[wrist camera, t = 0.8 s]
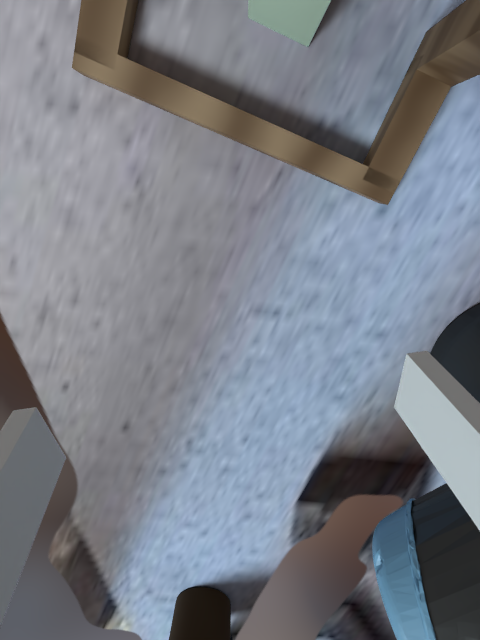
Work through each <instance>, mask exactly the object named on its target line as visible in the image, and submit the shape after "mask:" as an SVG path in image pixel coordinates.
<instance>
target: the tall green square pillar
mask: <svg viewBox="0 0 480 640" xmlns="http://www.w3.org/2000/svg"><path fill="white" fill-rule="evenodd" d="M330 2H331V0H248V18H249V19H251V20H253V21H255V22H257V23H260V24H262V25H264V26H266V27H268V28H270V29H272V30H274V31H276V32H278V33H280V34H282V35H284V36H286V37H288V38H290V39H292V40H294V41H296V42H298V43H300V44H302V45H305V46H307V47H308V46H309V44H310V42H311V40H312V38H313V36H314V34H315V32H316V30H317V28H318V26H319V24H320V22H321V20H322V18H323V16H324V14H325V12H326V10H327V8H328V6H329V4H330Z"/></svg>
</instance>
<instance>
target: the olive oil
mask: <svg viewBox="0 0 480 640" xmlns="http://www.w3.org/2000/svg"><path fill="white" fill-rule="evenodd" d="M230 619H231V604H230V600H229V598H228V597H227V596H226V595H225V594H224V593H223V592H221V591H219V590H216V589H213V588H208V587H195V588H190V589H187V590H185V591H183V592H182V593H181V594H180V595H179V596H178V597H177V600H176V604H175V610H174V615H173V620H172V626H171V631H170V637H169V640H232V637H231V636H232V635H231V636H230ZM230 637H231V638H230Z"/></svg>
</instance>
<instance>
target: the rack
mask: <svg viewBox="0 0 480 640" xmlns="http://www.w3.org/2000/svg"><path fill="white" fill-rule="evenodd" d="M137 6H138V0H81V7H80V14H79V22H78V29H77V36H76V43H75V50H74V57H73V64H72V68H73V69H75V70H76V71H78V72H79V73H81V74H83V75H84V76H86V77H89V78H91V79H93V80H96V81H98V82H100V83H103V84H105V85H107V86H110V87H112V88H114V89H116V90H119V91H121V92H123V93H126V94H128V95H130V96H133V97H135V98H137V99H140V100H142V101H144V102H147V103H149V104H151V105H153V106H156V107H158V108H160V109H163V110H165V111H167V112H170V113H172V114H174V115H177V116H179V117H181V118H184V119H186V120H188V121H190V122H193V123H195V124H197V125H200V126H202V127H204V128H207V129H209V130H211V131H214V132H216V133H218V134H220V135H223V136H225V137H227V138H230V139H232V140H234V141H237V142H239V143H241V144H244V145H246V146H248V147H251V148H253V149H255V150H257V151H260V152H262V153H264V154H267V155H269V156H271V157H274V158H276V159H278V160H281V161H283V162H285V163H287V164H290V165H292V166H294V167H297V168H299V169H301V170H304V171H306V172H308V173H311V174H313V175H315V176H318V177H320V178H322V179H324V180H327V181H329V182H331V183H334V184H336V185H338V186H341V187H343V188H345V189H348V190H350V191H352V192H355V193H357V194H359V195H361V196H364V197H366V198H368V199H371V200H373V201H375V202H378V203H381V204H386V205H388V203H389V202H390V200H391V198H392V196H393V194H394V192H395V190H396V189H397V187H398V185H399V183H400V181H401V179H402V177H403V175H404V174H405V172H406V170H407V168H408V166H409V164H410V162H411V161H412V159H413V157H414V155H415V153H416V151H417V149H418V148H419V146H420V144H421V142H422V140H423V138H424V136H425V134H426V133H427V131H428V129H429V127H430V125H431V123H432V121H433V120H434V118H435V116H436V114H437V112H438V110H439V108H440V107H441V105H442V103H443V101H444V99H445V97H446V95H447V93H448V92H449V90H450V88H451V87H452V86H454V85H456V84H458V83H461V82H463V81H465V80H468V79H470V78H472V77H475V76H477V75H479V74H480V0H466V1H465V2H464V3H462V4H461V5H460V6H459V7H457V8H456V9H455V10H453V11H452V12H451V13H450V14H448V15H447V16H446V17H445V18H443V19H442V20H441V21H440V22H438V23H437V24H436V25H435V26H433V27H432V28H431V29H430V30H428V31H427V32H426V34H425V36H424V38H423V40H422V42H421V44H420V46H419V48H418V50H417V52H416V54H415V57H414V59H413V61H412V63H411V65H410V67H409V69H408V71H407V73H406V75H405V77H404V79H403V81H402V83H401V85H400V88H399V90H398V92H397V94H396V96H395V98H394V100H393V102H392V104H391V106H390V108H389V110H388V112H387V114H386V117H385V119H384V121H383V123H382V125H381V127H380V129H379V131H378V133H377V135H376V137H375V139H374V141H373V143H372V145H371V148H370V150H369V152H368V154H367V156H366V158H365V160H364V162H363V164H361V163H359V162H357V161H354V160H352V159H350V158H348V157H345V156H343V155H341V154H339V153H337V152H334V151H332V150H330V149H328V148H325V147H323V146H321V145H319V144H316V143H314V142H312V141H310V140H307V139H305V138H303V137H301V136H299V135H296V134H294V133H292V132H290V131H287V130H285V129H283V128H281V127H278V126H276V125H274V124H272V123H269V122H267V121H265V120H263V119H261V118H258V117H256V116H254V115H252V114H249V113H247V112H245V111H243V110H240V109H238V108H236V107H234V106H232V105H229V104H227V103H225V102H223V101H220V100H218V99H216V98H214V97H211V96H209V95H207V94H205V93H202V92H200V91H198V90H196V89H194V88H191V87H189V86H187V85H185V84H182V83H180V82H178V81H176V80H173V79H171V78H169V77H167V76H164V75H162V74H160V73H158V72H156V71H153V70H151V69H149V68H147V67H144V66H142V65H140V64H138V63H135V62H133V61H131V60H129V59H127V57H128V52H129V47H130V42H131V36H132V31H133V26H134V21H135V16H136V11H137Z"/></svg>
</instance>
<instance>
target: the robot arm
mask: <svg viewBox="0 0 480 640" xmlns="http://www.w3.org/2000/svg"><path fill="white" fill-rule="evenodd" d="M394 408H395V409H396V411H397V412H398V413H399V415H400V416H401V418H402V419H403V421H404V422H405V424H406V425H407V426H408V428H409V429H410V431H411V432H412V434H413V435H414V437H415V438H416V439H417V441H418V442H419V444H420V445H421V447H422V448H423V450H424V451H425V452H426V454H427V455H428V457H429V458H430V460H431V461H432V463H433V464H434V465H435V467H436V468H437V470H438V471H439V473H440V474H441V476H442V477H443V478H444V480H445V481H446V484H444V485H442V486H440V487H439V488H437V489H435V490H433V491H431V492H429V493H427V494H425V495H423V496H422V497H420V498H418V499H416V500H415V499H414V498H413V499H410V500H409V501H408V502H407V504H406V505H405V506H403V507H402V508H400V509H399V510H397V511H395V512H394V513H392V514H390V515H389V516H387V517H385V518H384V519H383V520H381V521H380V522H379V524H378V525H377V527H376V529H375V531H374V535H373V544H372V550H373V561H374V567H375V571H376V577H377V581H378V585H379V589H380V593H381V596H382V600H383V603H384V606H385V609H386V612H387V615H388V618H389V620H390V623H391V626H392V628H393V631H394V633H395V636H396V638H397V640H480V304H479V305H477V306H475V307H473V308H471V309H469V310H468V311H466V312H465V313H463V314H462V315H460V316H459V317H458V318H457V319H455V320H454V321H453V322H452V323H451V324H450V325H449V326H448V327H447V328H446V329H445V330H444V332H443V333H442V334H441V335H440V337H439V338H438V340H437V341H436V343H435V345H434V347H433V349H432V351H431V354H430V353H429V352H428V351H422V352H415V353H408V354H406V358H405V363H404V367H403V371H402V376H401V380H400V384H399V389H398V393H397V397H396V401H395V406H394ZM65 459H66V457H65V455H64V453H63V451H62V450H61V448H60V446H59V445H58V443H57V441H56V440H55V438H54V436H53V435H52V433H51V431H50V430H49V428H48V426H47V425H46V423H45V421H44V420H43V418H42V416H41V415H40V413H39V411H38V410H37V408H36V407H35V408H28V409H21V410H14V411H13V412H12V414H11V415H10V417H9V418H8V420H7V421H6V423H5V425H4V426H3V428H2V429H1V431H0V627H1V625H2V622H3V619H4V616H5V614H6V612H7V609H8V607H9V604H10V601H11V599H12V596H13V593H14V591H15V588H16V586H17V583H18V580H19V578H20V575H21V573H22V570H23V568H24V565H25V562H26V560H27V557H28V555H29V552H30V550H31V547H32V544H33V542H34V539H35V536H36V534H37V531H38V529H39V526H40V524H41V521H42V518H43V516H44V513H45V511H46V508H47V505H48V503H49V500H50V498H51V495H52V493H53V490H54V487H55V485H56V482H57V480H58V477H59V474H60V472H61V469H62V466H63V464H64V461H65Z"/></svg>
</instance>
